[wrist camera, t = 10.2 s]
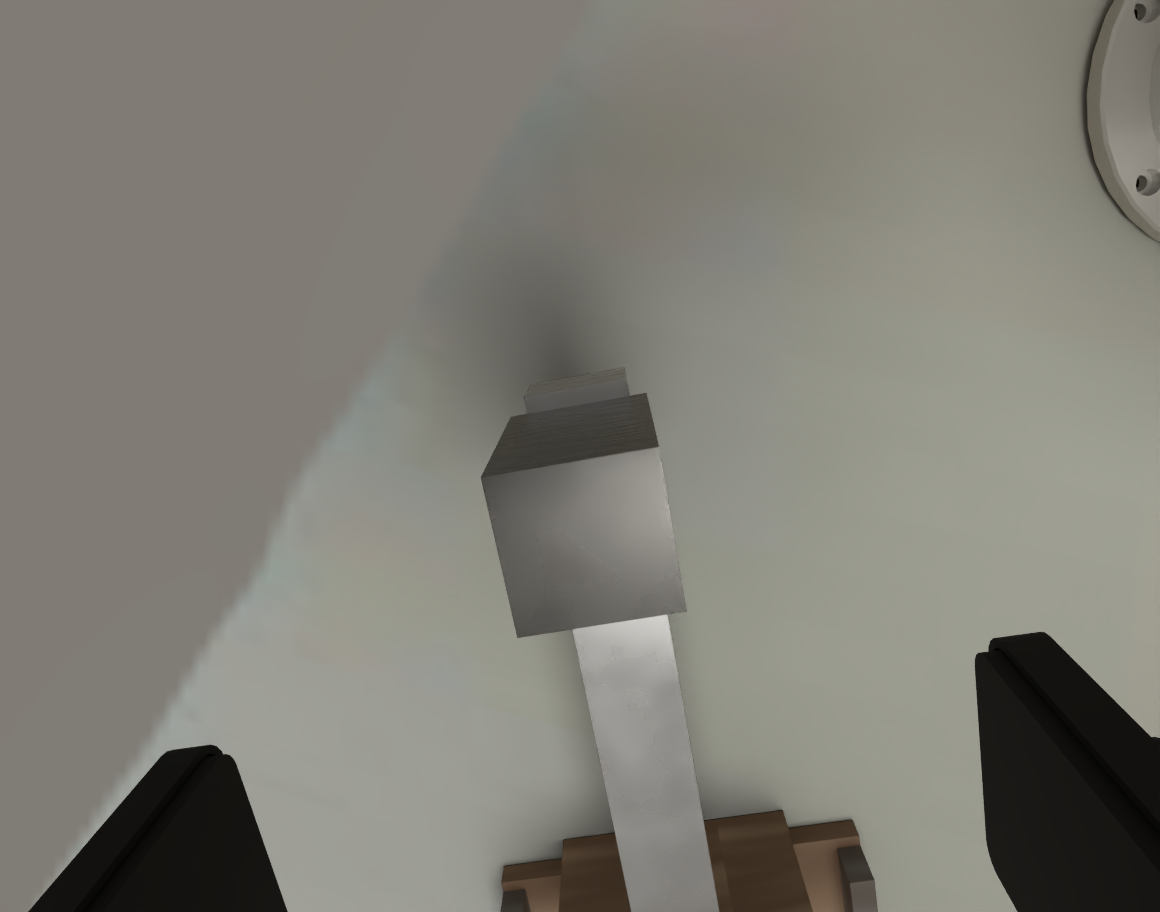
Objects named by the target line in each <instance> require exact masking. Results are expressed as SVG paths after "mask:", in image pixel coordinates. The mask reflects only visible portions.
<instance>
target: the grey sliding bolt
mask: <svg viewBox="0 0 1160 912" xmlns="http://www.w3.org/2000/svg"><path fill="white" fill-rule="evenodd" d="M524 399H525V404H526V409H527V413H528V414H525V415H519V416H513V417H511V418H510V420H509V422H508V424H507V426H506V428H505V430H504V432H503V434H502V436H501V438H500V440H499V442H498V444H497V446H496V448H495V450H494V452H493V454H492V456H491V458H490V460H489V462H488V464H487V466H486V468H485V470H484V472H483V474H482V476H481V480H482V485H483V489H484V493H485V498H486V502H487V507H488V511H489V515H490V520H491V524H492V528H493V533H494V537H495V542H496V546H497V550H498V555H499V559H500V563H501V568H502V572H503V577H504V581H505V585H506V590H507V594H508V598H509V603H510V607H511V612H512V616H513V620H514V625H515V629H516V634H517V638H520V637H526V636H532V635H539V634H545V633H552V632H558V631H565V630H571V629H573V634H574V639H575V644H576V648H577V653H578V658H579V663H580V668H581V672H582V677H583V682H584V687H585V692H586V696H587V701H588V706H589V711H590V716H591V720H592V725H593V730H594V735H595V740H596V744H597V749H598V754H599V759H600V764H601V768H602V773H603V778H604V783H605V788H606V792H607V797H608V802H609V807H610V812H611V816H612V821H613V826H614V831H615V836H616V840H617V845H618V850H619V855H620V860H621V864H622V869H623V874H624V879H625V884H626V888H627V893H628V898H629V903H630V908H631V912H720V911H719V905H718V899H717V894H716V888H715V882H714V877H713V871H712V865H711V859H710V854H709V848H708V842H707V836H706V831H705V825H704V819H703V813H702V808H701V802H700V796H699V790H698V785H697V779H696V773H695V767H694V762H693V756H692V750H691V744H690V739H689V733H688V727H687V721H686V716H685V710H684V704H683V699H682V693H681V687H680V681H679V676H678V670H677V664H676V658H675V653H674V647H673V641H672V635H671V630H670V624H669V618H668V614H674V613H680V612H687V611H686V605H685V599H684V593H683V587H682V581H681V575H680V569H679V563H678V557H677V551H676V545H675V539H674V534H673V528H672V522H671V516H670V510H669V504H668V498H667V492H666V486H665V480H664V474H663V468H662V462H661V456H660V450H659V445H658V441H657V436H656V432H655V428H654V423H653V419H652V415H651V411H650V406H649V402H648V398H647V393H643V394H638V395H632V396H630V394H629V388H628V383H627V377H626V371H625V368H619V369H614V370H608V371H603V372H597V373H592V374H586V375H581V376H575V377H569V378H564V379H558V380H553V381H547V382H542V383H536V384H530V386H529V388H528V390H527V393H526V395H525V397H524Z"/></svg>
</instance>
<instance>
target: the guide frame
mask: <svg viewBox="0 0 1160 912" xmlns="http://www.w3.org/2000/svg"><path fill="white" fill-rule="evenodd" d="M704 825H705V831H706V836H707V842H708V848H709V854H710V859H711V865H712V871H713V877H714V882H715V888H716V894H717V899H718V905H719V911H720V912H878V909H877V900H876V891H875V882H874V878H873V876H872V873H871V871H870V868H869V866H868V863H867V861H866V858H865V856H864V854H863V851H862V849H861V846H860V840H859V835H858V832H857V830H856V827H855V825H854V822H853V820H848V821H841V822H833V823H826V824H818V825H811V826H803V827H796V828H788V826H787V823H786V820H785V816H784V813H783V810H781V811H774V812H767V813H759V814H752V815H744V816H737V817H730V818H722V819H715V820H707V821H704ZM501 883H502V887H503V891H504V893H503V900H502V906H501V912H631V908H630V903H629V898H628V893H627V888H626V884H625V879H624V874H623V869H622V864H621V860H620V855H619V850H618V845H617V840H616V836H615V833H611V834H604V835H596V836H589V837H581V838H574V839H567V840H563V854H562V859H556V860H548V861H541V862H533V863H526V864H518V865H511V866H504V870H503V876H502V882H501Z"/></svg>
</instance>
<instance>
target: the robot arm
mask: <svg viewBox="0 0 1160 912" xmlns="http://www.w3.org/2000/svg"><path fill="white" fill-rule="evenodd" d="M1134 9H1137V12H1138V16H1137V19H1136V17H1135V13H1134ZM1087 118H1088V132H1089V136H1090V141H1091V145H1092V150H1093V155H1094V159H1095V163H1096V165H1097V167H1098V170H1099V172H1100V174H1101V176H1102V178H1103V181H1104V183H1105V185H1106V187H1107V189H1108V192H1109V193H1110V195H1111V196H1112V197H1113V199H1114V200H1115V201H1116V203H1117V204H1118V205H1119V207H1120V208H1121V209H1122V211H1123V212H1124V213H1125V214H1126V216H1127V217H1128V218H1129V219H1130V220H1131V221H1132V222H1134V223H1135V224H1136V225H1137V226H1138V227H1139V228H1141V229H1142V230H1143V231H1144V232H1145V233H1147V234H1148V235H1149V236H1150V237H1151V238H1153V239H1155V240H1157V241H1159V242H1160V0H1114V1H1113V3H1112V5H1111V7H1110V9H1109V10H1108V12H1107V14H1106V16H1105V19H1104V22H1103V25H1102V28H1101V31H1100V34H1099V37H1098V40H1097V43H1096V46H1095V49H1094V52H1093V56H1092V63H1091V69H1090V75H1089V82H1088V88H1087ZM1137 178H1138V179H1139V182H1140V183H1139V187H1138V188H1136V182H1137ZM975 675H976V690H977V705H978V721H979V736H980V751H981V766H982V782H983V797H984V812H985V827H986V840H987V847H988V851H989V855H990V858H991V862H992V864H993V867H994V869H995V871H996V874H997V876H998V878H999V879H1000V881H1001V883H1002V885H1003V886H1004V888H1005V890H1006V892H1007V894H1008V895H1009V897H1010V899H1011V901H1012V902H1013V904H1014V906H1015V908H1016V910H1017V911H1018V912H1160V738H1157V737H1151V736H1150V735H1149V734H1148V733H1147V732H1146V731H1145V730H1143V729H1142V728H1141V727H1140V726H1139V725H1138V724H1137V723H1136V722H1135V721H1134V720H1133V719H1132V718H1131V717H1130V716H1129V715H1128V714H1127V713H1126V712H1125V711H1124V710H1123V709H1122V708H1121V707H1120V706H1119V705H1118V704H1117V703H1116V702H1115V701H1114V700H1113V699H1112V698H1111V697H1110V696H1109V695H1108V694H1107V693H1106V692H1105V691H1104V690H1103V689H1102V688H1101V687H1100V686H1099V685H1098V684H1097V683H1096V682H1095V681H1094V680H1093V679H1092V678H1091V677H1090V676H1089V675H1088V674H1087V673H1086V672H1085V671H1084V670H1083V669H1082V668H1081V667H1080V666H1079V665H1078V664H1077V663H1076V662H1075V661H1074V660H1073V659H1072V658H1071V657H1070V656H1069V655H1068V654H1067V653H1066V652H1065V651H1064V650H1063V649H1062V648H1061V647H1060V646H1059V645H1058V644H1057V643H1056V642H1055V641H1054V640H1053V639H1052V638H1051V637H1050V636H1049V635H1047V634H1046V633H1045V632H1036V633H1029V634H1022V635H1014V636H1007V637H999V638H993V639H992V640H991V641H990V644H989V652H982V653H978V654H977V655H976V658H975ZM29 912H287V909H286V906H285V903H284V900H283V897H282V894H281V892H280V889H279V886H278V883H277V880H276V877H275V874H274V871H273V869H272V866H271V863H270V860H269V857H268V854H267V851H266V848H265V846H264V843H263V840H262V837H261V834H260V831H259V828H258V825H257V823H256V820H255V817H254V814H253V811H252V808H251V805H250V802H249V800H248V797H247V794H246V791H245V788H244V785H243V782H242V779H241V776H240V774H239V771H238V768H237V765H236V763H235V761H234V759H233V758H232V757H231V756H230V755H227V754H224V755H223V753H222V751H221V750H220V749H219V748H218V747H217V746H214V745H205V746H198V747H191V748H183V749H176V750H171V751H167V752H166V753H165V754H164V755H162V756H161V757H160V758H159V760H158V761H157V762H156V763H155V764H154V765H153V767H152V768H151V769H150V770H149V771H148V772H147V774H146V775H145V776H144V777H143V778H142V779H141V781H140V782H139V783H138V784H137V785H136V786H135V788H134V789H133V790H132V791H131V792H130V793H129V795H128V796H127V797H126V798H125V799H124V800H123V802H122V803H121V804H120V805H119V806H118V807H117V809H116V810H115V811H114V812H113V813H112V814H111V816H110V817H109V818H108V819H107V820H106V822H105V823H104V824H103V825H102V826H101V827H100V829H99V830H98V831H97V832H96V833H95V834H94V836H93V837H92V838H91V839H90V840H89V841H88V843H87V844H86V845H85V846H84V847H83V848H82V850H81V851H80V852H79V853H78V854H77V855H76V857H75V858H74V859H73V860H72V861H71V862H70V864H69V865H68V866H67V867H66V868H65V869H64V871H63V872H62V873H61V874H60V875H59V876H58V878H57V879H56V880H55V881H54V882H53V883H52V885H51V886H50V887H49V888H48V889H47V890H46V892H45V893H44V894H43V895H42V896H41V897H40V899H39V900H38V901H37V902H36V903H35V904H34V906H33V907H32V908H31V909H30V910H29Z"/></svg>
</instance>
